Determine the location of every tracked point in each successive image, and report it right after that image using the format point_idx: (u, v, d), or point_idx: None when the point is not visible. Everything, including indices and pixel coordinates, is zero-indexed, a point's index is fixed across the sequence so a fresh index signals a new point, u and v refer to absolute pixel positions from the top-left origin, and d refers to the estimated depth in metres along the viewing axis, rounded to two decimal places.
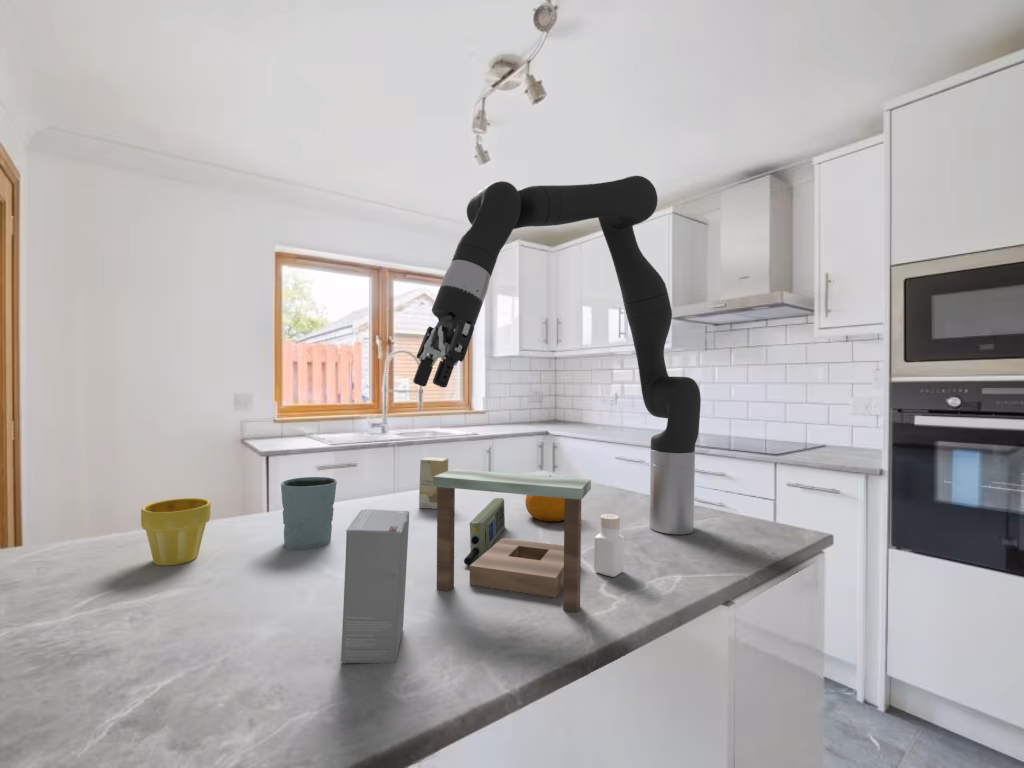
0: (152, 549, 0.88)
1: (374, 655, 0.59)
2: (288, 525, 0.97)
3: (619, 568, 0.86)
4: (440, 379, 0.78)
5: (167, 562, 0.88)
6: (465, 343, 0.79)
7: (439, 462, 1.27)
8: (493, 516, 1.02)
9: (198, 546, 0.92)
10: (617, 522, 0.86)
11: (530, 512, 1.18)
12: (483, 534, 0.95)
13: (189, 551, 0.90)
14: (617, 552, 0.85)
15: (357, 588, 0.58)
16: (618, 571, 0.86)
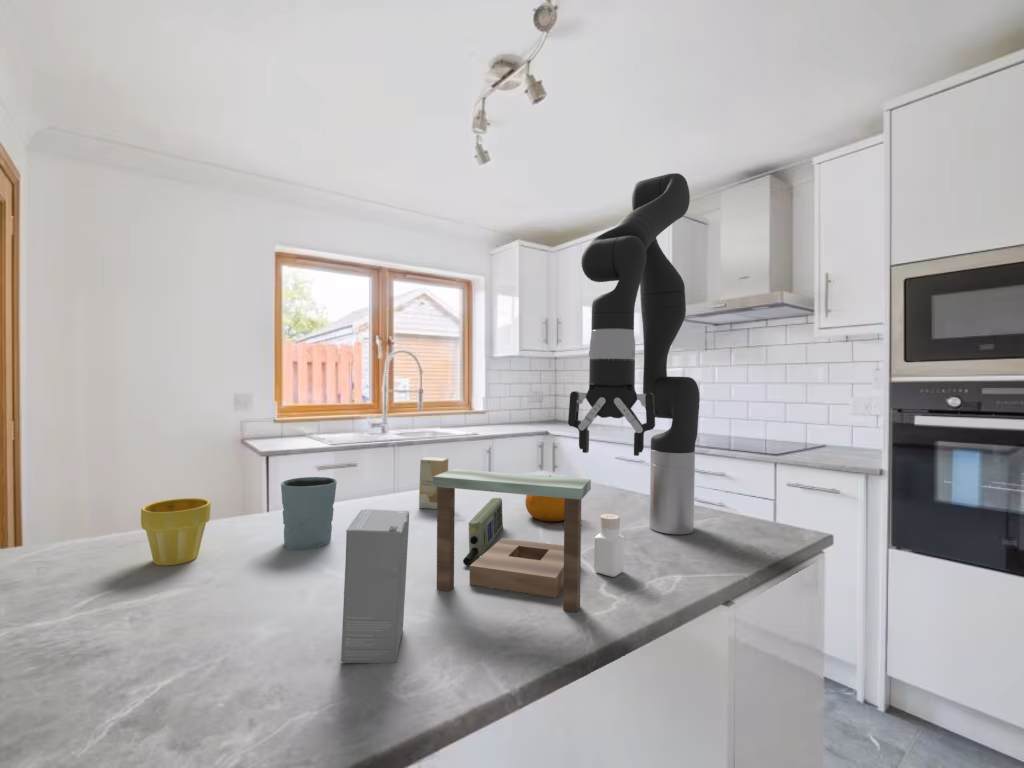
0: (152, 549, 0.88)
1: (374, 655, 0.59)
2: (288, 525, 0.97)
3: (619, 568, 0.86)
4: (642, 450, 0.85)
5: (167, 562, 0.88)
6: (654, 412, 0.85)
7: (439, 462, 1.27)
8: (491, 516, 1.02)
9: (198, 546, 0.92)
10: (617, 522, 0.86)
11: (530, 512, 1.18)
12: (482, 534, 0.95)
13: (189, 551, 0.90)
14: (617, 552, 0.85)
15: (357, 588, 0.58)
16: (618, 571, 0.86)
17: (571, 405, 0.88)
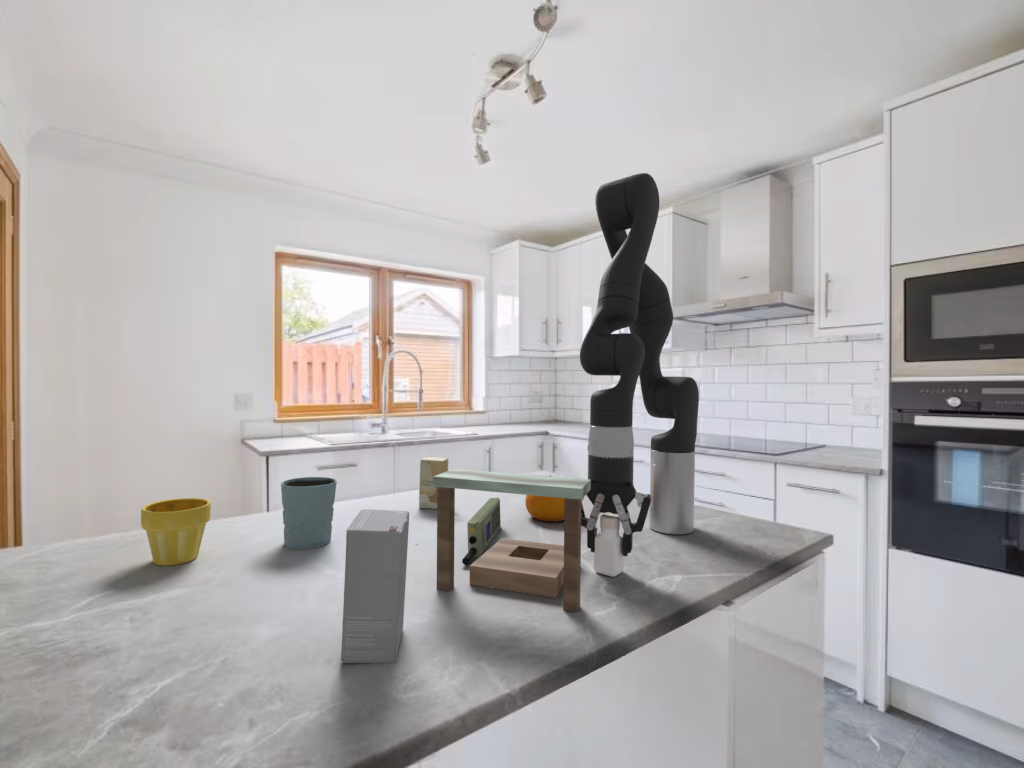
0: (152, 549, 0.88)
1: (374, 655, 0.59)
2: (288, 525, 0.97)
3: (619, 567, 0.86)
4: None
5: (167, 562, 0.88)
6: None
7: (439, 462, 1.27)
8: (490, 516, 1.02)
9: (198, 546, 0.92)
10: (617, 522, 0.86)
11: (530, 512, 1.18)
12: (481, 534, 0.95)
13: (189, 551, 0.90)
14: (617, 552, 0.85)
15: (357, 588, 0.58)
16: (618, 571, 0.86)
17: None
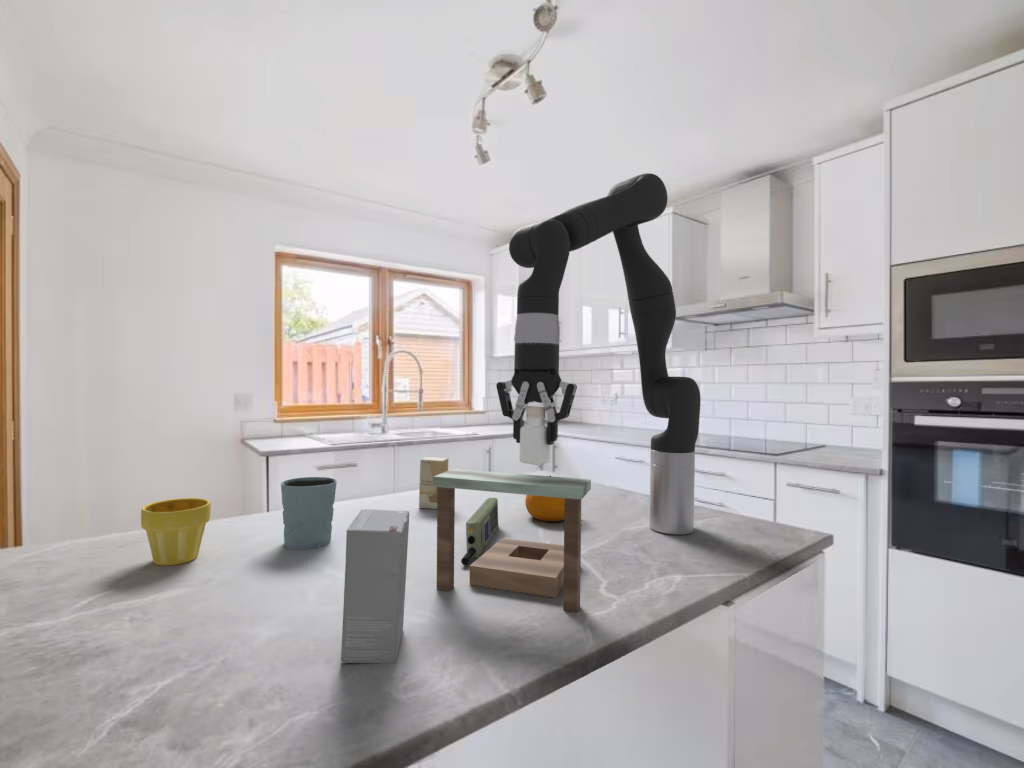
0: (152, 549, 0.88)
1: (374, 655, 0.59)
2: (288, 525, 0.97)
3: (543, 456, 0.86)
4: (555, 439, 0.85)
5: (167, 562, 0.88)
6: (571, 403, 0.86)
7: (439, 462, 1.27)
8: (488, 516, 1.02)
9: (198, 546, 0.92)
10: (542, 411, 0.86)
11: (530, 512, 1.18)
12: (479, 534, 0.95)
13: (189, 551, 0.90)
14: (541, 440, 0.85)
15: (357, 588, 0.58)
16: (542, 459, 0.85)
17: (500, 396, 0.88)
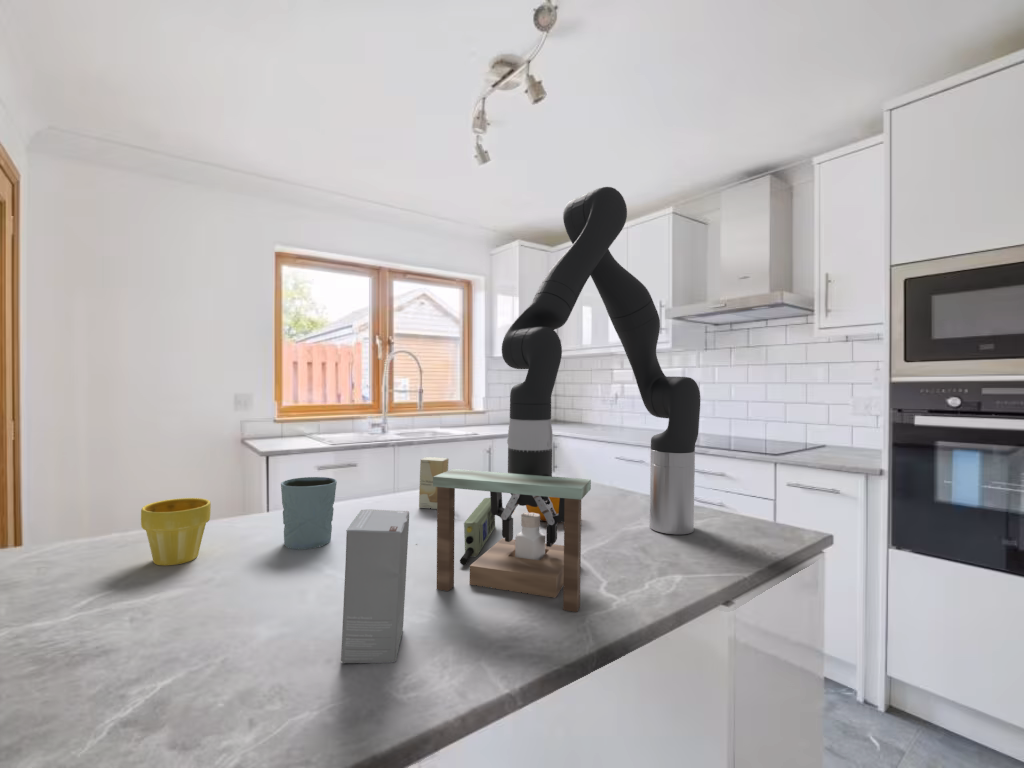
0: (152, 549, 0.88)
1: (374, 655, 0.59)
2: (288, 525, 0.97)
3: None
4: (554, 541, 0.86)
5: (167, 562, 0.88)
6: None
7: (439, 462, 1.27)
8: (486, 516, 1.02)
9: (198, 546, 0.92)
10: (537, 520, 0.86)
11: (530, 512, 1.18)
12: (477, 534, 0.95)
13: (189, 551, 0.90)
14: (536, 550, 0.86)
15: (357, 588, 0.58)
16: None
17: (492, 494, 0.88)
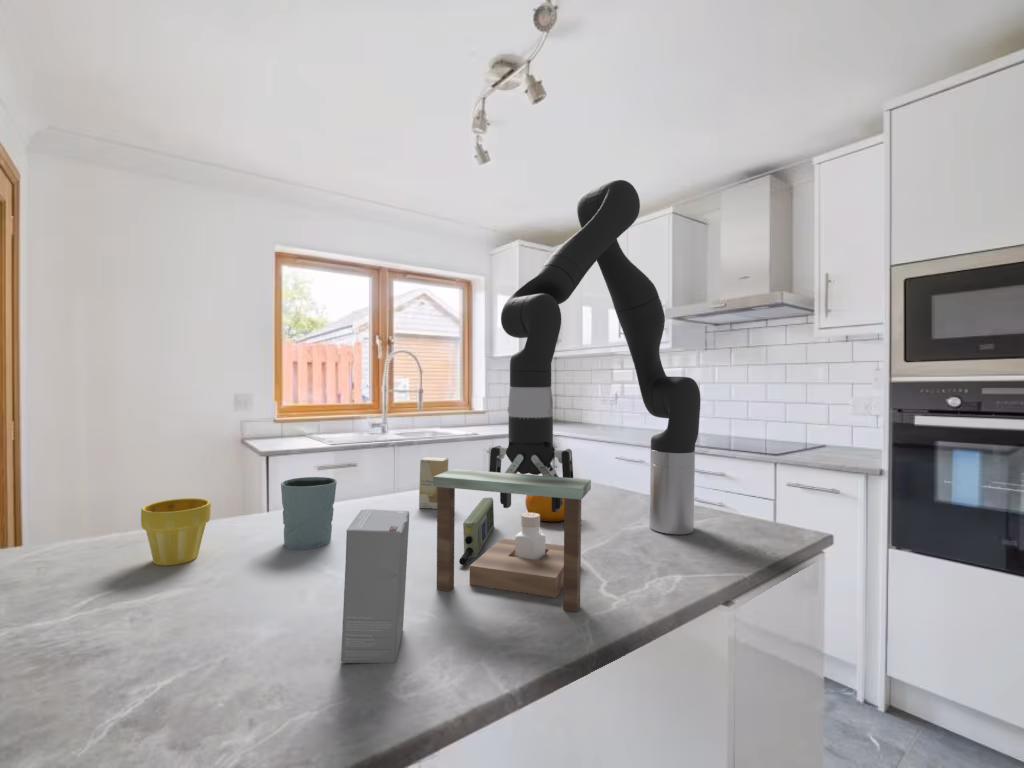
0: (152, 549, 0.88)
1: (374, 655, 0.59)
2: (288, 525, 0.97)
3: None
4: (560, 507, 0.85)
5: (167, 562, 0.88)
6: (572, 468, 0.86)
7: (439, 462, 1.27)
8: (485, 516, 1.02)
9: (198, 546, 0.92)
10: (537, 520, 0.86)
11: (530, 512, 1.18)
12: (477, 534, 0.95)
13: (189, 551, 0.90)
14: (536, 550, 0.86)
15: (357, 588, 0.58)
16: None
17: (492, 461, 0.88)
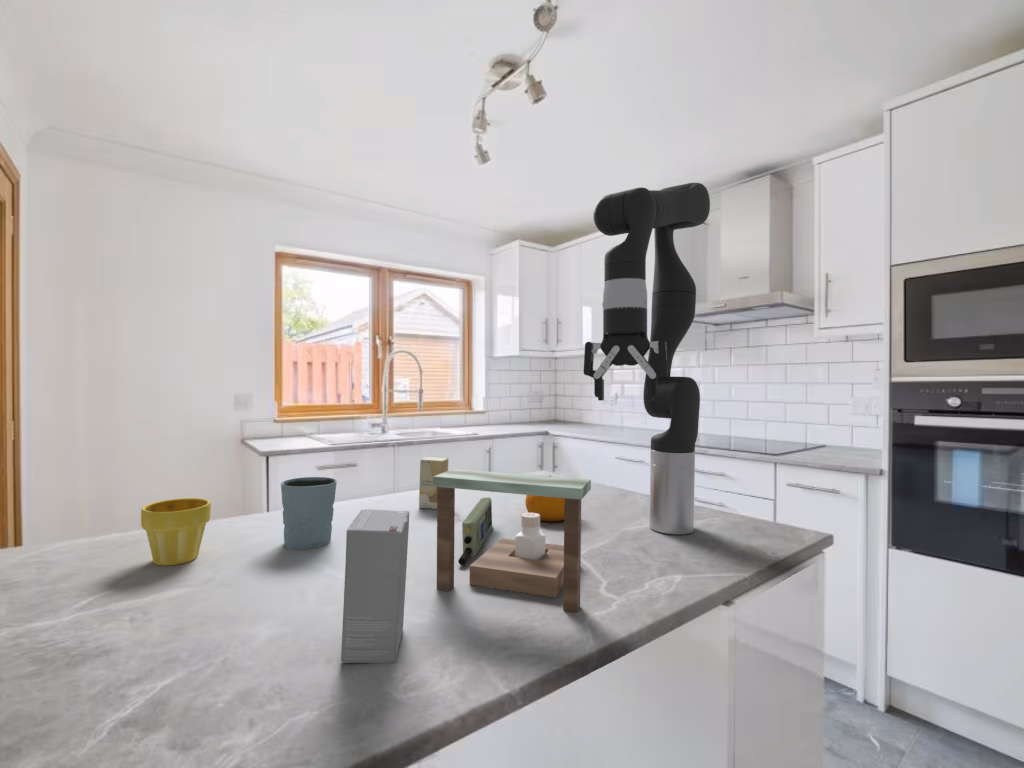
0: (152, 549, 0.88)
1: (374, 655, 0.59)
2: (288, 525, 0.97)
3: None
4: (655, 395, 0.88)
5: (167, 562, 0.88)
6: None
7: (439, 462, 1.27)
8: (483, 516, 1.02)
9: (198, 546, 0.92)
10: (537, 520, 0.86)
11: (530, 512, 1.18)
12: (475, 534, 0.95)
13: (189, 551, 0.90)
14: (536, 550, 0.86)
15: (357, 588, 0.58)
16: None
17: (586, 355, 0.91)
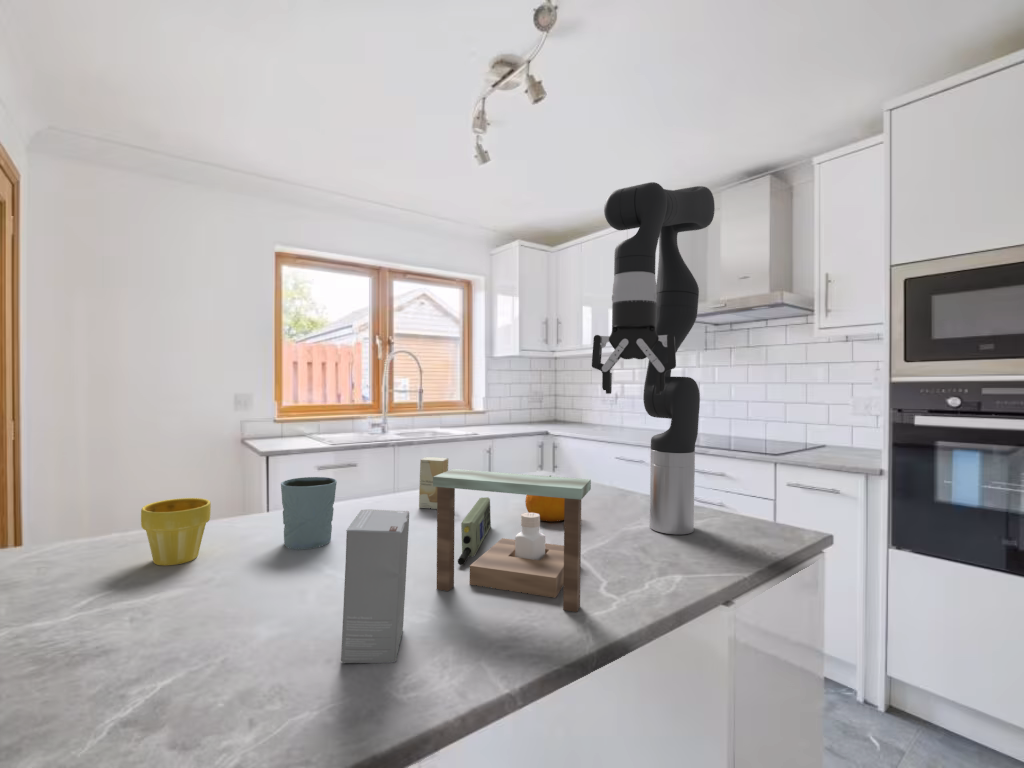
0: (152, 549, 0.88)
1: (374, 655, 0.59)
2: (288, 525, 0.97)
3: None
4: (663, 389, 0.88)
5: (167, 562, 0.88)
6: (675, 352, 0.89)
7: (439, 462, 1.27)
8: (482, 515, 1.02)
9: (198, 546, 0.92)
10: (537, 520, 0.86)
11: (530, 512, 1.18)
12: (475, 534, 0.95)
13: (189, 551, 0.90)
14: (536, 550, 0.86)
15: (357, 588, 0.58)
16: None
17: (595, 348, 0.91)
